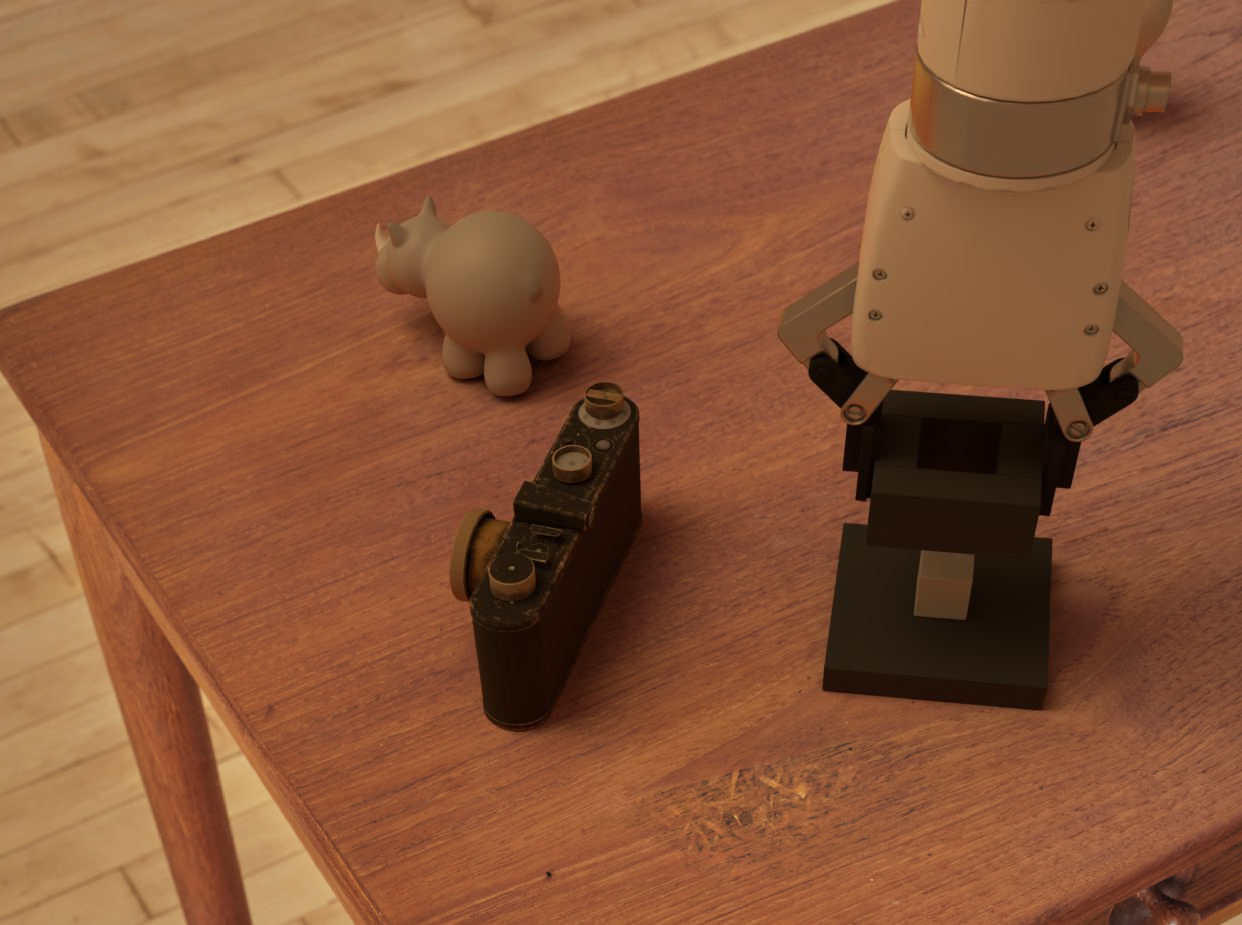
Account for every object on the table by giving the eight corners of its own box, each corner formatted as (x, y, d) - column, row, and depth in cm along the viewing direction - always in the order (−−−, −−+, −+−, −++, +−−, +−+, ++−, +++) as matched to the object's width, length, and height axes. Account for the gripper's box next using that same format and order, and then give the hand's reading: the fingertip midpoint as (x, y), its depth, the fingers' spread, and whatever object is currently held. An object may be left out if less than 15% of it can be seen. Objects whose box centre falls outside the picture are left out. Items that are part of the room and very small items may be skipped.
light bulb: (1049, 146, 110) (1078, -22, 101) (1047, 94, 113) (1074, -72, 105) (1150, 147, 109) (1186, -21, 101) (1144, 95, 112) (1179, -72, 104)
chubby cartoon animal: (432, 279, 105) (414, 142, 99) (592, 351, 100) (585, 211, 94) (348, 342, 102) (323, 204, 96) (509, 419, 97) (495, 279, 90)
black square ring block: (1034, 455, 81) (1045, 399, 79) (1029, 560, 77) (1041, 505, 75) (877, 443, 83) (883, 388, 80) (864, 546, 78) (871, 491, 76)
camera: (536, 487, 94) (525, 356, 87) (659, 509, 92) (656, 378, 86) (416, 710, 85) (394, 583, 79) (549, 740, 83) (537, 612, 77)
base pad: (1047, 561, 88) (1061, 497, 85) (1042, 710, 82) (1056, 647, 79) (841, 545, 90) (847, 481, 87) (822, 690, 84) (827, 628, 81)
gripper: (1262, 55, 66) (1156, 448, 80) (786, 35, 69) (765, 419, 83) (1272, 169, 62) (1157, 563, 76) (763, 143, 64) (745, 528, 79)
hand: (953, 485), depth 79 cm, fingers closed on black square ring block, 7 cm apart
